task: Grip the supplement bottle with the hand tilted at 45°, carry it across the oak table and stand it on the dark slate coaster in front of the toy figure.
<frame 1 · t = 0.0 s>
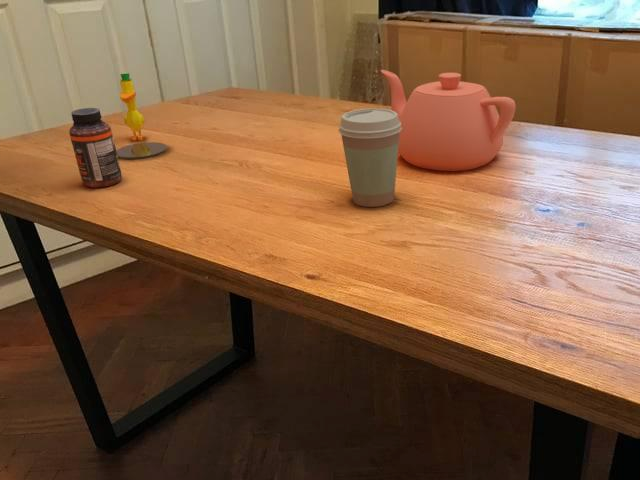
teapot: (444, 157, 110), on the table
coffee cup: (373, 200, 94), on the table
toy figure: (137, 140, 126), on the table
supplement bottle: (103, 183, 104), on the table
coaster: (141, 151, 118), on the table
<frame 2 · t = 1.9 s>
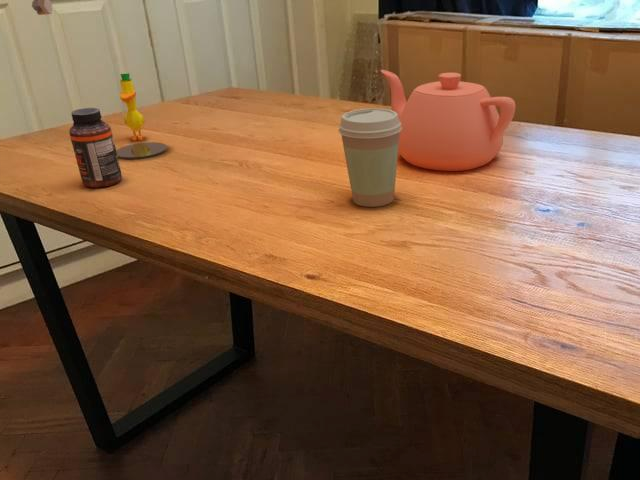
hand: (9, 13, 82), 26 cm above the table, tool tilted 45°, fingers open, 8 cm apart
nothing on the table moved.
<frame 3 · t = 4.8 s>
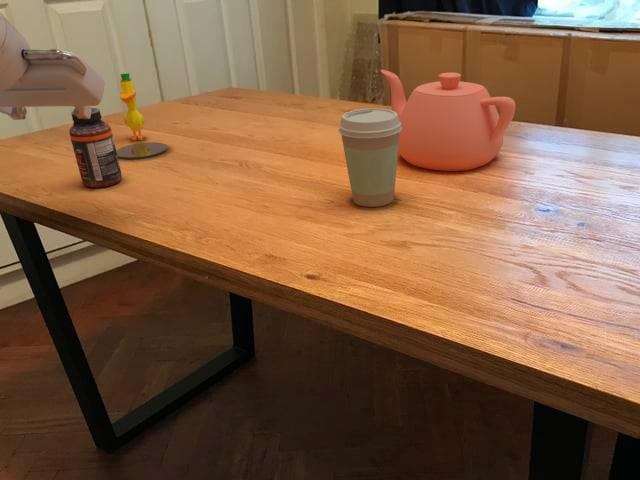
hand: (53, 114, 91), 13 cm above the table, tool tilted 45°, fingers open, 8 cm apart
nothing on the table moved.
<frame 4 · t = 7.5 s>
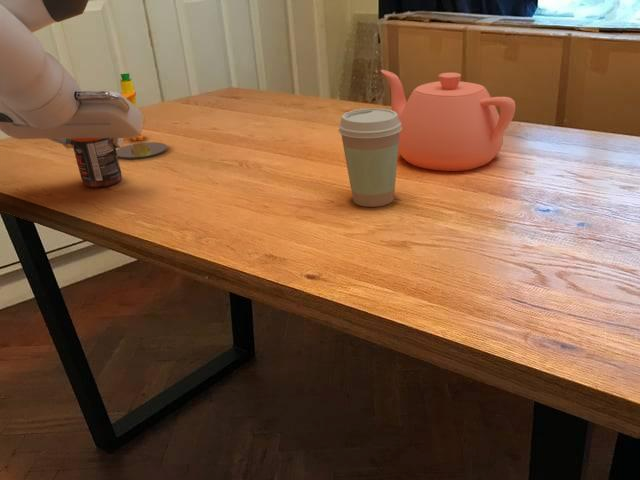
hand: (95, 144, 102), 6 cm above the table, tool tilted 45°, fingers closed on supplement bottle, 6 cm apart
supplement bottle: (103, 183, 104), on the table, touching gripper
everything else where it was.
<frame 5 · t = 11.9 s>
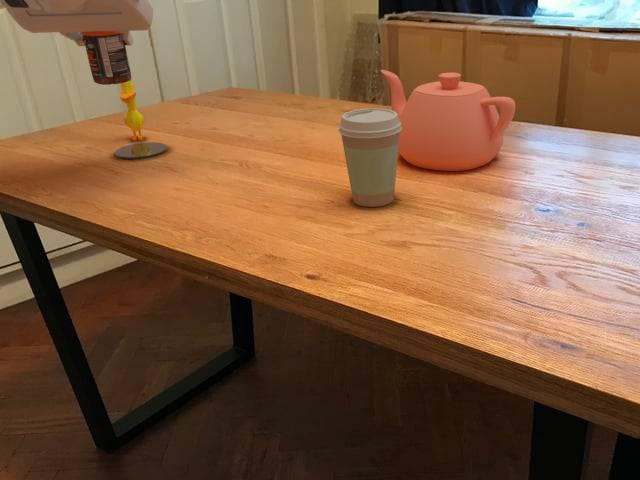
hand: (106, 42, 105), 19 cm above the table, tool tilted 45°, fingers closed on supplement bottle, 6 cm apart
supplement bottle: (113, 82, 108), point 13 cm above the table, touching gripper
everything else where it was.
when the fingers open (6 cm above the table, at t = 16.6 s): supplement bottle stays where it is, resting on coaster.
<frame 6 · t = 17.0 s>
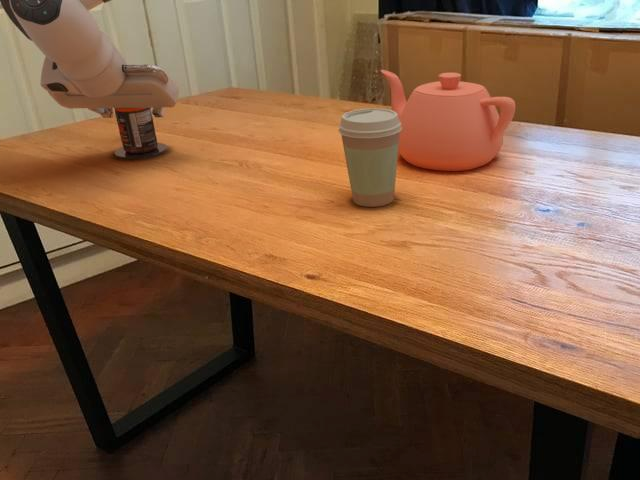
hand: (135, 114, 116), 7 cm above the table, tool tilted 45°, fingers open, 8 cm apart
supplement bottle: (141, 150, 118), resting on coaster
everything else where it was.
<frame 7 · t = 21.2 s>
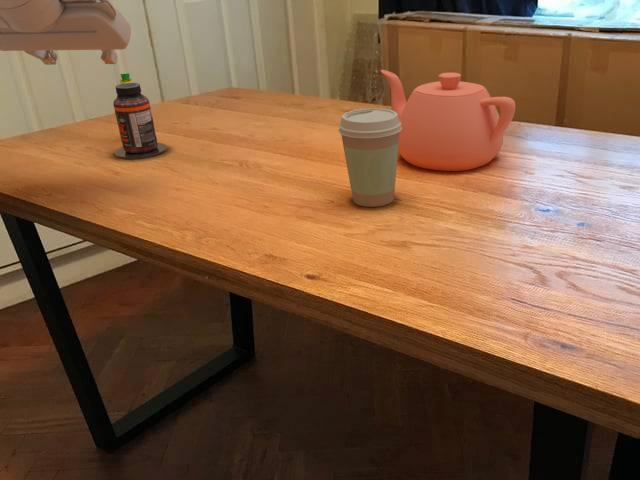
hand: (82, 60, 99), 18 cm above the table, tool tilted 45°, fingers open, 8 cm apart
nothing on the table moved.
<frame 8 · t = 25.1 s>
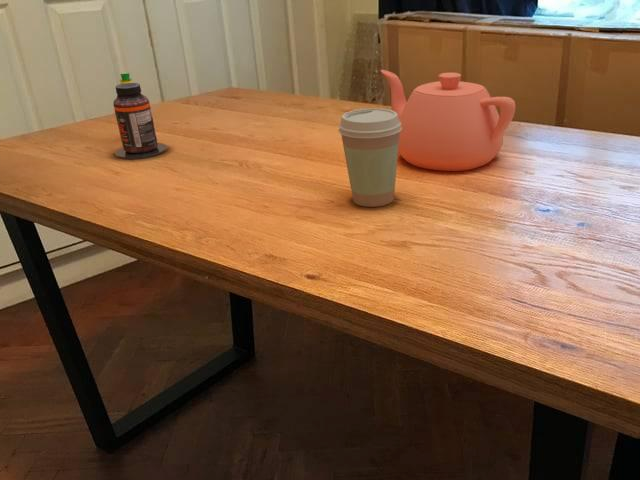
nothing on the table moved.
at the end: supplement bottle inside the target area on the table beside the toy figure (0.2 cm from its centre), resting on coaster; supplement bottle tilted 0°; toy figure moved 0.2 cm from its start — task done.
